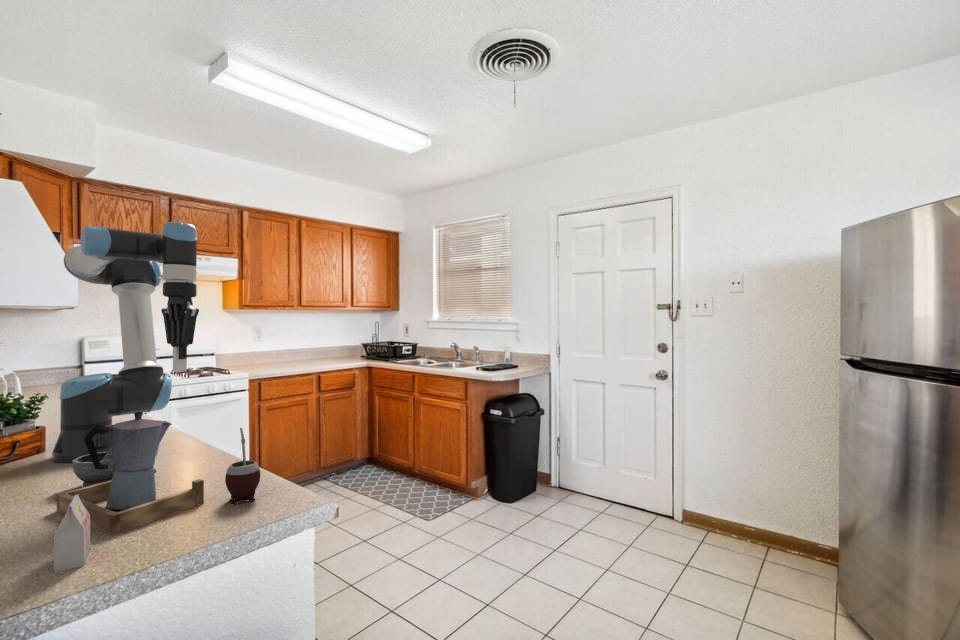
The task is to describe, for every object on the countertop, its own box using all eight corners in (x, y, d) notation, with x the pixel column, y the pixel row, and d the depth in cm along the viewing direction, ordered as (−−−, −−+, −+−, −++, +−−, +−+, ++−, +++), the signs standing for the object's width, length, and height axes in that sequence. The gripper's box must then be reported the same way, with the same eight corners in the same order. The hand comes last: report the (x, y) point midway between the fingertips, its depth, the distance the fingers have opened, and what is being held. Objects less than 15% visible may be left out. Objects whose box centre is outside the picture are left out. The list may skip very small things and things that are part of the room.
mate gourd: (243, 507, 101) (243, 437, 101) (214, 502, 103) (214, 434, 103) (268, 494, 108) (268, 429, 108) (241, 490, 110) (241, 427, 110)
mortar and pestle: (69, 495, 107) (69, 443, 107) (74, 483, 114) (75, 434, 114) (131, 485, 113) (131, 436, 113) (132, 474, 121) (132, 428, 121)
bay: (146, 485, 114) (146, 464, 114) (203, 503, 103) (203, 480, 103) (56, 511, 98) (56, 487, 98) (113, 535, 88) (113, 508, 88)
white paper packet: (53, 572, 75) (54, 510, 75) (62, 554, 81) (62, 496, 81) (83, 565, 77) (83, 505, 77) (90, 548, 83) (90, 492, 83)
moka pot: (178, 499, 105) (178, 410, 105) (90, 522, 93) (90, 421, 93) (163, 489, 111) (163, 404, 111) (79, 509, 99) (79, 415, 99)
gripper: (209, 282, 124) (208, 371, 124) (180, 283, 130) (179, 368, 130) (179, 280, 117) (179, 374, 118) (150, 281, 123) (150, 371, 124)
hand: (179, 371), depth 124 cm, fingers closed
